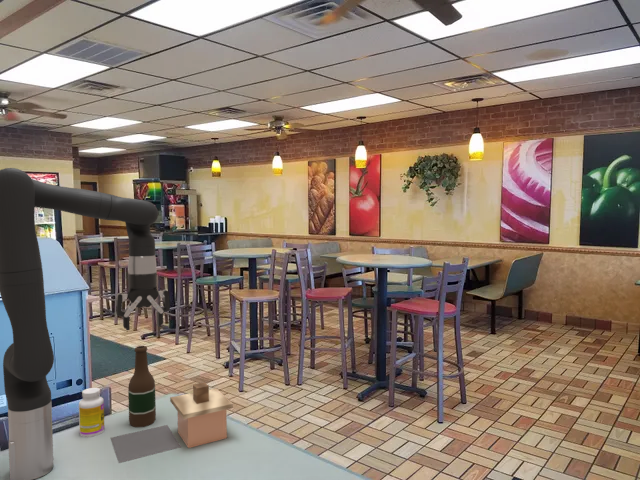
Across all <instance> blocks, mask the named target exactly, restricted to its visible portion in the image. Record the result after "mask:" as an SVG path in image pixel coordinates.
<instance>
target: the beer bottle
mask: <svg viewBox="0 0 640 480" xmlns="http://www.w3.org/2000/svg"><path fill="white" fill-rule="evenodd" d="M134 352H135V359H134V373H133V374H132V376H131V377H130V380H129V384H128V390H127V392H128V395H127V396H128V423H129V424H128V425H129V426H131V427H133V428H145V427H148V426H151V425H153V424H154V422H155V421H156V419H157V417H156V416H157V411H156V409H157V408H156V405H157V404H156V402H157V401H156V381H155V379H154V376H153V374H152V373H151V372H150V369H149V364H148V361H149V360H148V347H147V346H145V345H138V346H135V348H134Z"/></svg>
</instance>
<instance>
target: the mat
mask: <svg viewBox="0 0 640 480" xmlns="http://www.w3.org/2000/svg"><path fill="white" fill-rule="evenodd" d="M170 428H171V427H170V426H169V425H168V424H164V425H161V426H156V427H151V428H147V429H142V430H138V431H135V432H130V433H125V434H121V435H117V436H112V437H110V441H111V445H112V447H113V450H114V453H115V456H116V458H117V459H116V460H117V462H118V464H121V463H125V462H129V461H132V460H137V459H141V458H144V457H147V456H148V457H149V456H153V455H157V454H160V453H163V452H167V451H171V450H176V449H179V448H182V445H181V444H180V442H179V441H178V440H177V438H176V436H175V435H174V433H173V431H172V429H170Z"/></svg>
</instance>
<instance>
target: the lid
mask: <svg viewBox="0 0 640 480" xmlns="http://www.w3.org/2000/svg"><path fill="white" fill-rule="evenodd" d="M192 390H193V391H192V392H189V393H186V394H181V395H176V396H170V397H169V399H170V401H169V402H170V403H171V404H172V405H173V407H174V408H175V410H176V411H177V413H178V412H179V414H180V415H181V416H182V418H183V419H186V418H191V417H195V416H199V415H204V414H208V413H213V412H217V411H221V410H226V411H227V410H230V409H233V408H234V404H233V402H232V401H231V400H229V399H228V398H227V397H226V396H225V395H224V394H223V393H222V392H221V391H220V390H219V389H218V388H215V387H214V388H211V389H210V387H209V384H208V383H206V382H204V381H203V382H201V383H195V384H192Z"/></svg>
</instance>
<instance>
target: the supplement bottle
mask: <svg viewBox="0 0 640 480" xmlns="http://www.w3.org/2000/svg"><path fill="white" fill-rule="evenodd" d="M81 393H82V394H81V397H82V399H81V400H80V401H79V402H78V420H79V422H78V423H79V426H78V427H79V435H80V437H82V438H83V437H84V438H89V437H90V438H91V437H95V436H98V435H101V434H102V433H103V432H104V431H105V403H104V398H103V397H102V396H100V394H101V389H100V388H99V387H90V388H86V389H85V388H84V390H82V392H81Z"/></svg>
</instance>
